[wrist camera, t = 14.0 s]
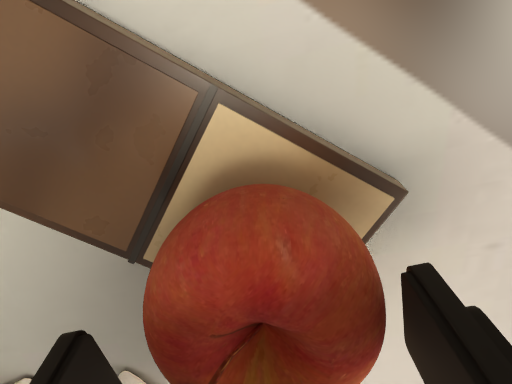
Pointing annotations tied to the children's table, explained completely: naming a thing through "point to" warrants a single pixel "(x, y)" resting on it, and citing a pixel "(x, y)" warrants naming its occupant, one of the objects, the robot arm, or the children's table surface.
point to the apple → (264, 293)
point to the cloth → (127, 379)
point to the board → (145, 136)
